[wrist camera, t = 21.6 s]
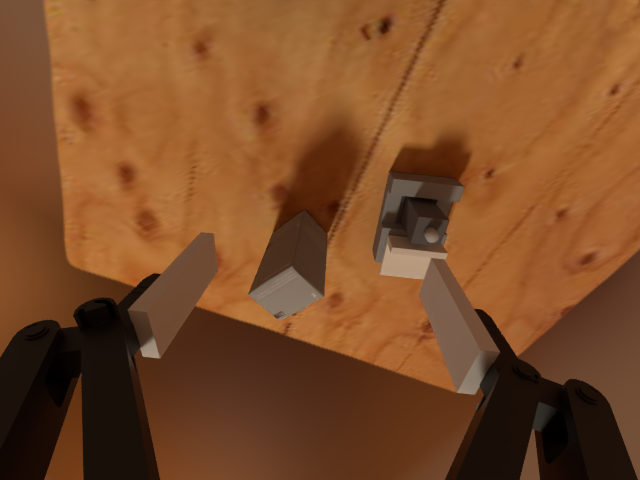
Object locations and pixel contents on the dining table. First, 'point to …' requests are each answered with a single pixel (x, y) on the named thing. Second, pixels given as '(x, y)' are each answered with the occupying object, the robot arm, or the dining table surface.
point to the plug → (423, 221)
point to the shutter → (408, 257)
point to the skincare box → (292, 268)
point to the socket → (412, 186)
